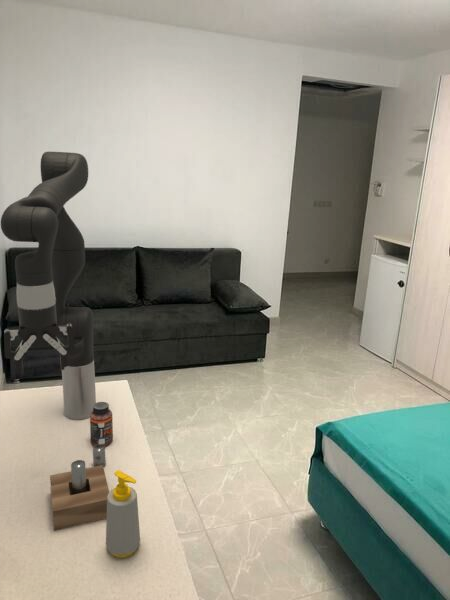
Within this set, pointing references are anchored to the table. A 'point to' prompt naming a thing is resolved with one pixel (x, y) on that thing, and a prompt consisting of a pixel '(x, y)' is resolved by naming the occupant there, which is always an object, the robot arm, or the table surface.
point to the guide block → (79, 499)
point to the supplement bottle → (101, 424)
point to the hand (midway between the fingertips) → (42, 370)
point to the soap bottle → (122, 518)
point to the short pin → (99, 455)
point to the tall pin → (78, 477)
